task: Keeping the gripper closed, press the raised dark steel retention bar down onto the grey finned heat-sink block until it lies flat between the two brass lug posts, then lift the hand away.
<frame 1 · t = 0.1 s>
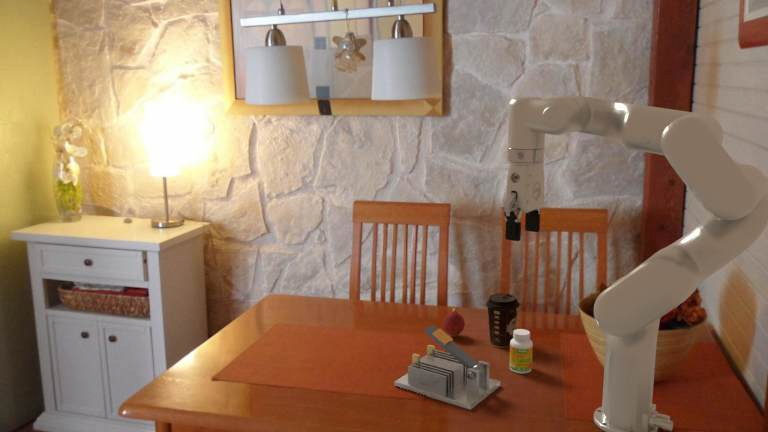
hand: (522, 235, 148), 37 cm above the table, tool pointing down, fingers open, 9 cm apart
coffee cup: (501, 344, 184), on the table
strap: (454, 350, 157), point 9 cm above the table, hinge at 28.0°
heatsink base: (447, 386, 160), on the table
supplement bottle: (520, 370, 168), on the table
onion: (453, 337, 189), on the table
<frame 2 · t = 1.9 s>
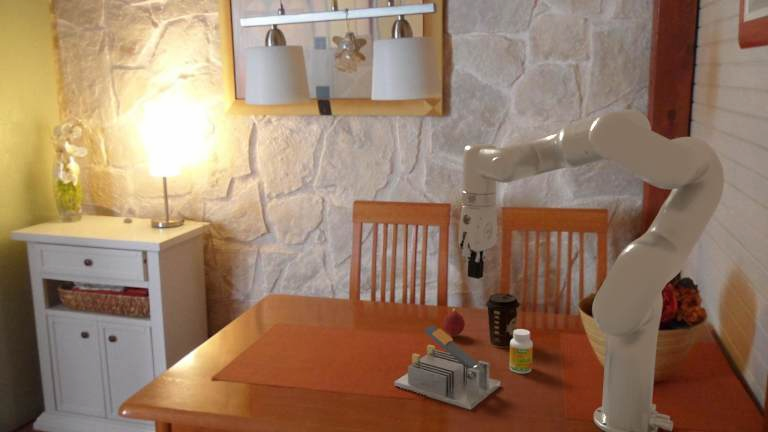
hand: (475, 276, 159), 25 cm above the table, tool pointing down, fingers closed
nothing on the table moved.
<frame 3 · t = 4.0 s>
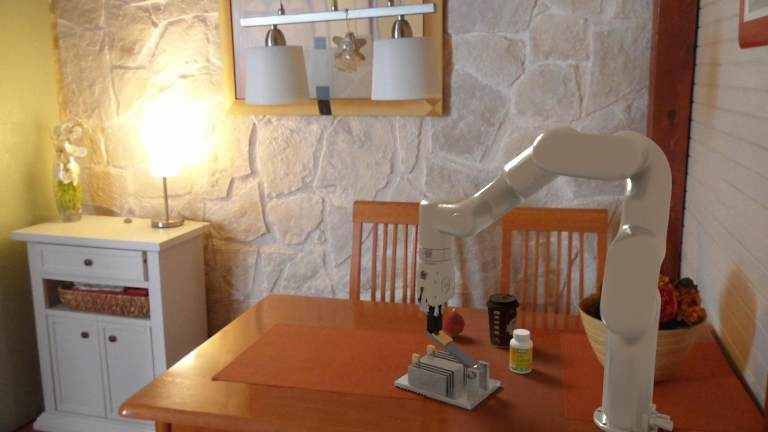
hand: (434, 329, 159), 13 cm above the table, tool pointing down, fingers closed
strap: (454, 350, 157), point 9 cm above the table, hinge at 27.2°, touching gripper
everything else where it was.
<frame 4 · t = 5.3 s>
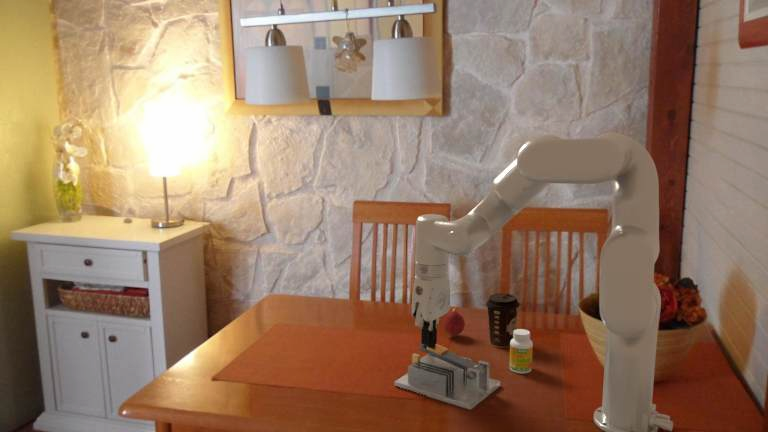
hand: (428, 344, 161), 9 cm above the table, tool pointing down, fingers closed
strap: (451, 358, 157), point 7 cm above the table, hinge at 9.3°, touching gripper
everything else where it was.
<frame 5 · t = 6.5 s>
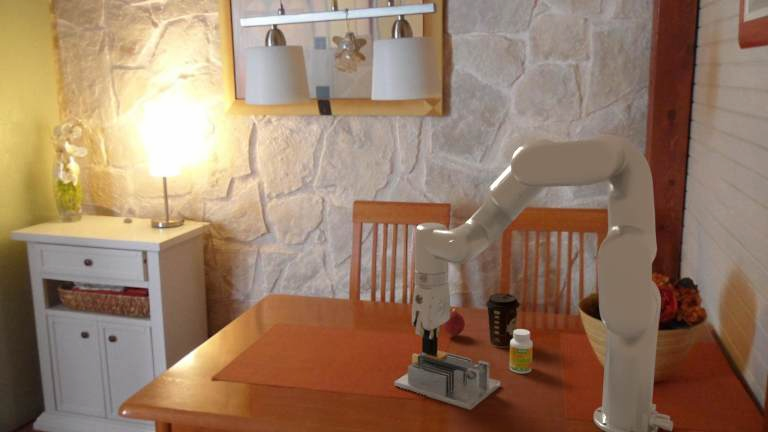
hand: (429, 352, 161), 7 cm above the table, tool pointing down, fingers closed
strap: (451, 362, 158), point 6 cm above the table, hinge at 0.6°, touching gripper
everything else where it was.
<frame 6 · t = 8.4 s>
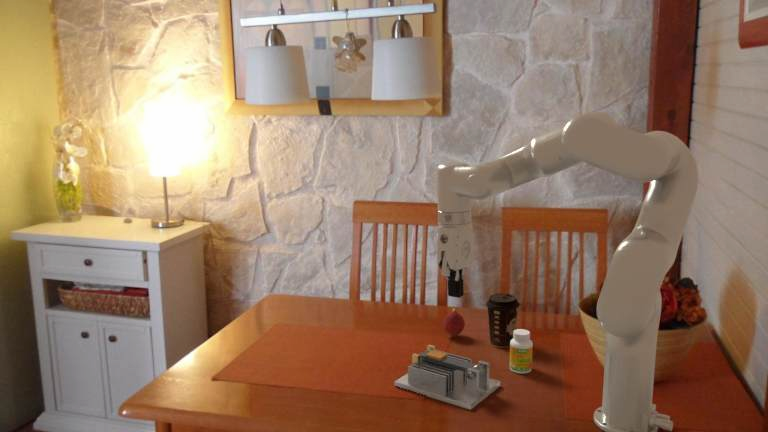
hand: (455, 295, 158), 21 cm above the table, tool pointing down, fingers closed
strap: (451, 362, 158), point 6 cm above the table, hinge at 0.4°
everything else where it was.
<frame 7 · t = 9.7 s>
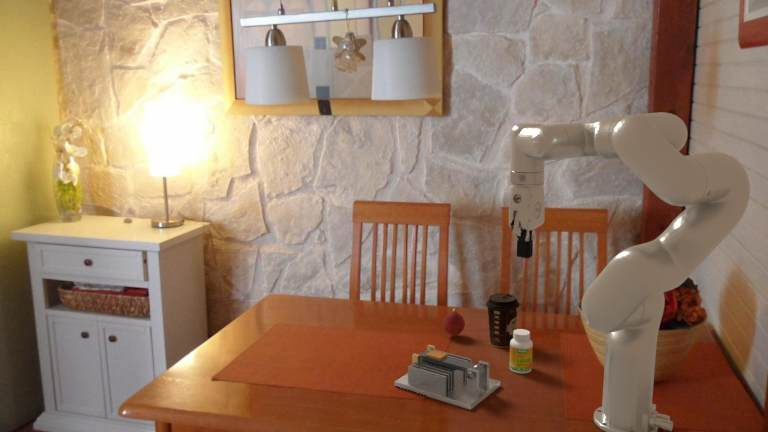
hand: (524, 256, 160), 29 cm above the table, tool pointing down, fingers closed
nothing on the table moved.
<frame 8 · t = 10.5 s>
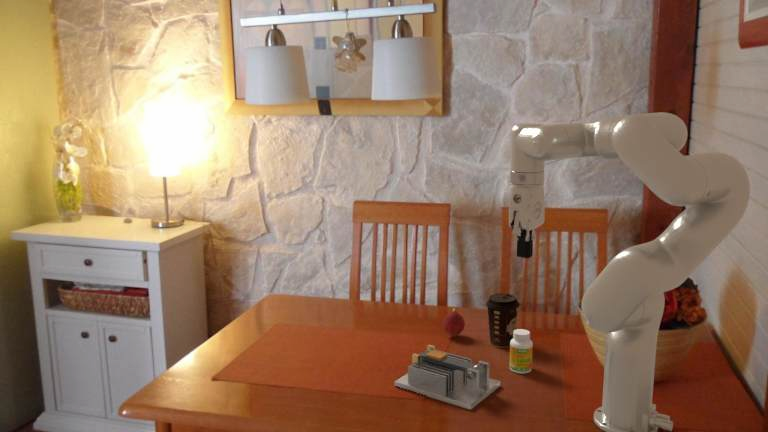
hand: (524, 256, 160), 29 cm above the table, tool pointing down, fingers closed
nothing on the table moved.
at the end: strap at +0° (first picture: +28°); the gripper is holding nothing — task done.
